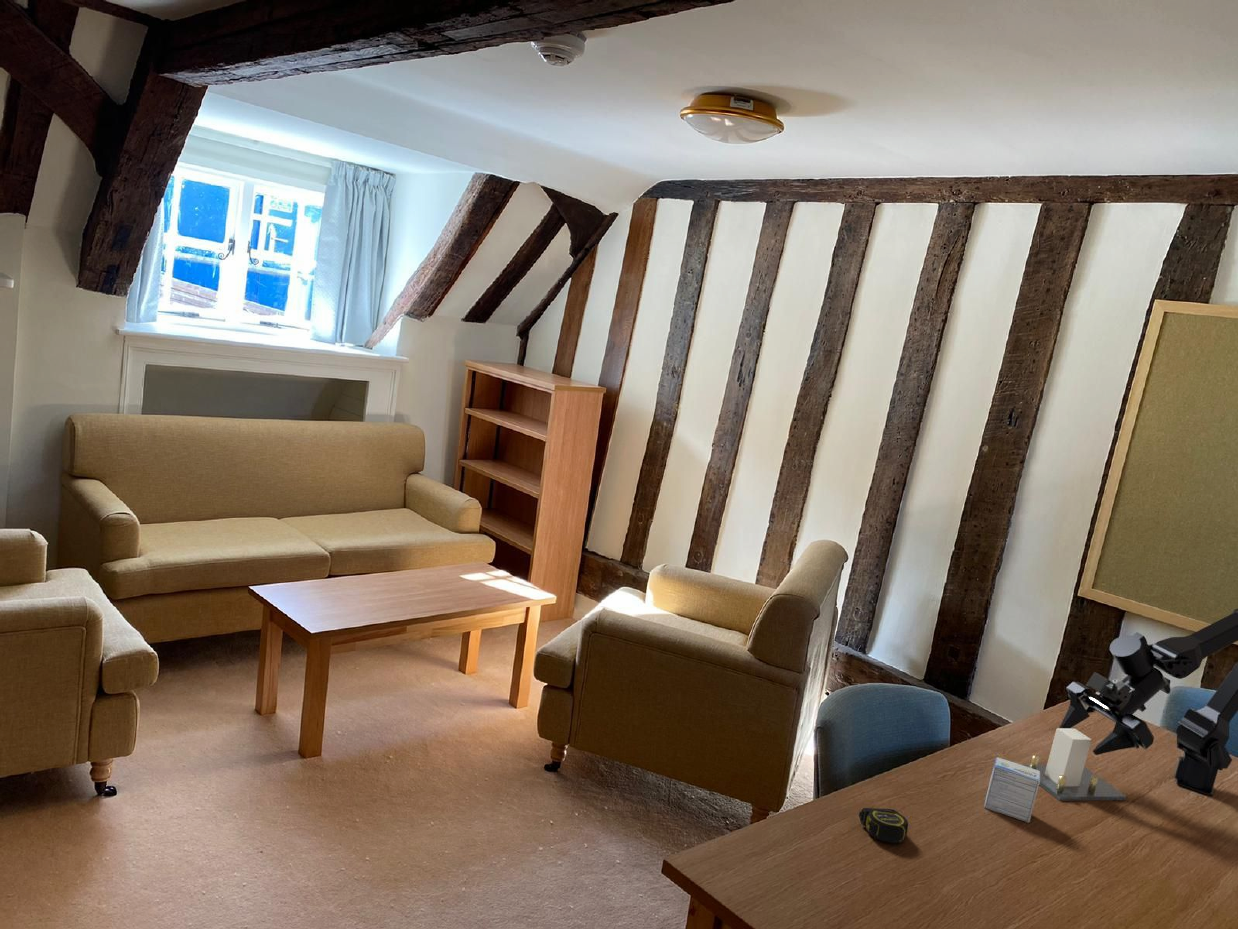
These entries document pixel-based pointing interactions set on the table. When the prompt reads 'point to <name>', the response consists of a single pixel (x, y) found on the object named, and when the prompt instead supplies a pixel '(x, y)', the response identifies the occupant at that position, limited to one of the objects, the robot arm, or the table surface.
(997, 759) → the medicine box
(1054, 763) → the block
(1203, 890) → the table surface
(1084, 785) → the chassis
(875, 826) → the tape measure
